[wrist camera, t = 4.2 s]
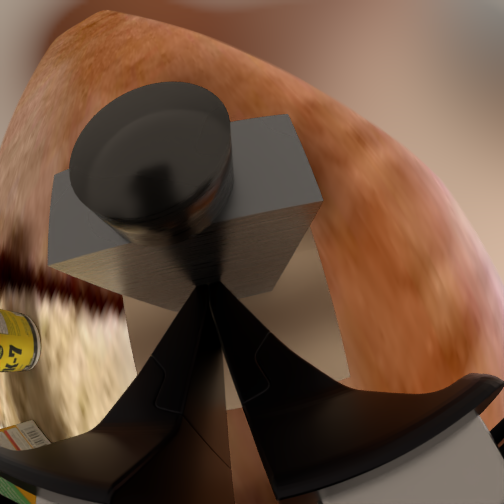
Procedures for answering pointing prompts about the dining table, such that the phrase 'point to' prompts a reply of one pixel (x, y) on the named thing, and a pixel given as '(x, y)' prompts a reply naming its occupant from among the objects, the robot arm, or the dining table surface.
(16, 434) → the crayon box
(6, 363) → the supplement bottle
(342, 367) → the board
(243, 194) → the grey piece
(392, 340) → the dining table surface
